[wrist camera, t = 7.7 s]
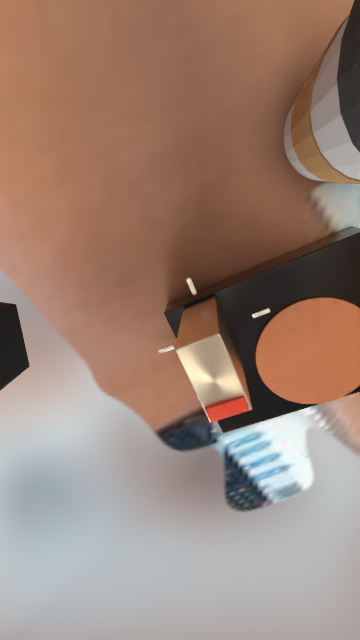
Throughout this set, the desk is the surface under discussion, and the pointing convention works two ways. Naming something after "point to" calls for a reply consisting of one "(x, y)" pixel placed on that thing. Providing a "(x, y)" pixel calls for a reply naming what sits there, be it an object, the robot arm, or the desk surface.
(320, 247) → the hotplate
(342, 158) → the coffee cup
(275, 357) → the warming ring
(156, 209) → the desk surface
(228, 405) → the cream block
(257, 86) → the desk surface
